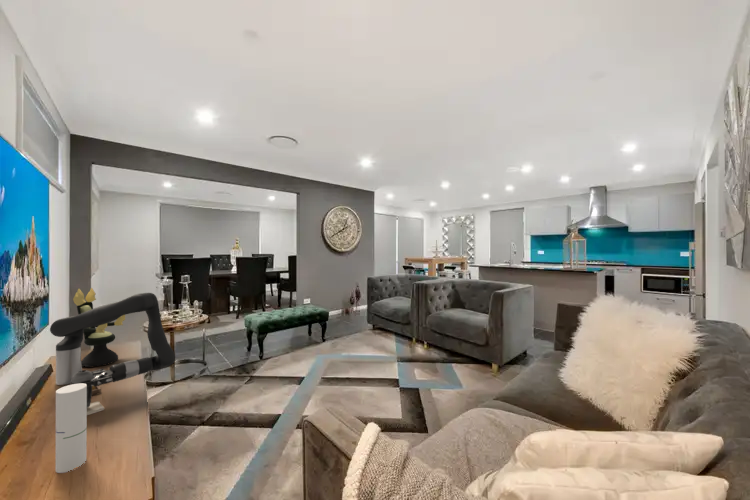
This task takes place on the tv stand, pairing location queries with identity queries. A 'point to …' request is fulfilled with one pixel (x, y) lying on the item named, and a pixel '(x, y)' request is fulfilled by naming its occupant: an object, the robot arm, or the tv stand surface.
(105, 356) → the black yellow plant sculpture
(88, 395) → the beverage cup
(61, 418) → the cylindrical container
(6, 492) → the tv stand surface
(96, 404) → the ash board
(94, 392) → the marble tray
